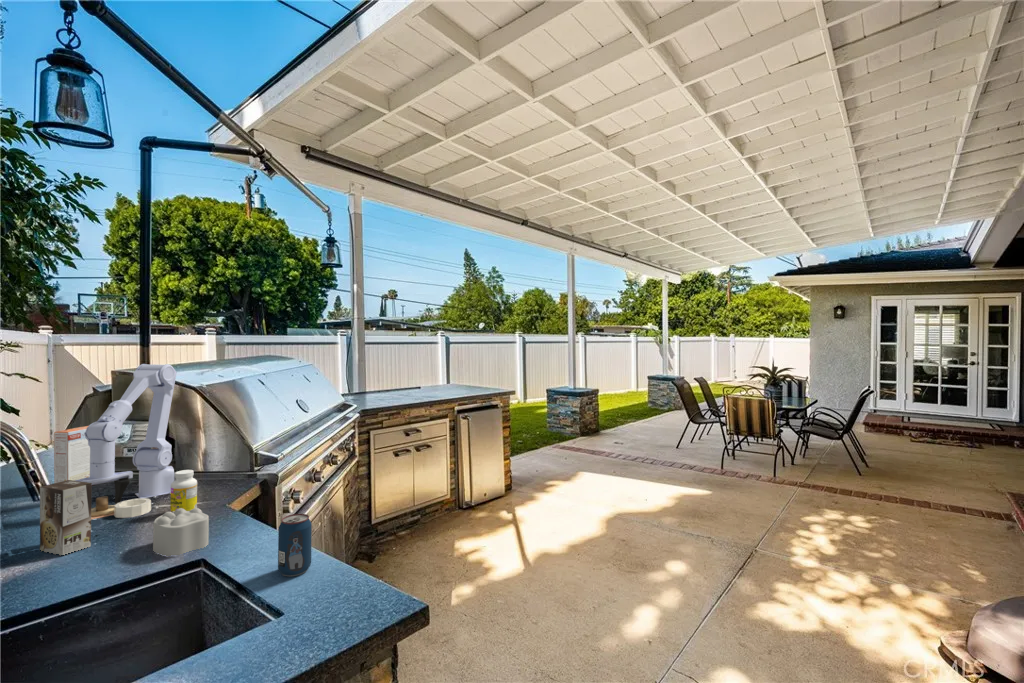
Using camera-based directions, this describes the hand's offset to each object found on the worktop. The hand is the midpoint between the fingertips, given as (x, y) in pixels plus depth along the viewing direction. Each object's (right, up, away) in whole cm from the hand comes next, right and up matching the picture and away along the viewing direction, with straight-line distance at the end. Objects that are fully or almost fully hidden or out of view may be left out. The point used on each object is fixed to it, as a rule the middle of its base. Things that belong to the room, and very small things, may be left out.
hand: (101, 507), depth 145 cm
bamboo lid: (0, -2, 0) cm, 2 cm away
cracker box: (-31, -2, +27) cm, 41 cm away
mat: (0, -2, 0) cm, 2 cm away
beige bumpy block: (+38, -3, -22) cm, 44 cm away
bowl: (+9, -2, 0) cm, 9 cm away
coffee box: (+11, -2, -24) cm, 26 cm away
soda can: (+73, -3, -34) cm, 81 cm away
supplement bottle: (+24, -3, +1) cm, 24 cm away
